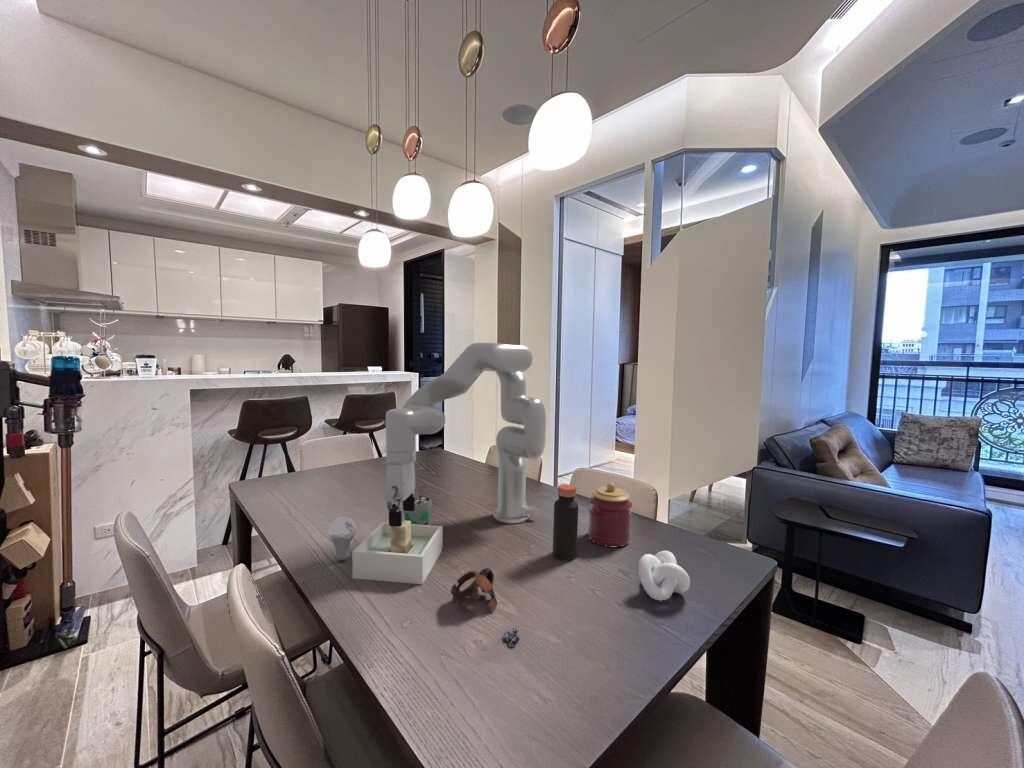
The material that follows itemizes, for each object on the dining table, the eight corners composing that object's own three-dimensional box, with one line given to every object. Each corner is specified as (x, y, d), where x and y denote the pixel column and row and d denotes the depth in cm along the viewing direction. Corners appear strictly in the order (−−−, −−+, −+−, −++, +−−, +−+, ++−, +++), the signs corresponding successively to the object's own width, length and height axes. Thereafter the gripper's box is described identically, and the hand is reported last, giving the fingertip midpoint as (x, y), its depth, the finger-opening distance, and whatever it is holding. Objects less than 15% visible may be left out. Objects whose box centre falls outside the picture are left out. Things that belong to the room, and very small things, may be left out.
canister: (638, 538, 130) (640, 483, 129) (617, 552, 121) (620, 493, 119) (601, 526, 139) (603, 474, 138) (579, 538, 130) (581, 482, 128)
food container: (422, 540, 126) (422, 508, 125) (403, 538, 127) (403, 506, 126) (437, 524, 138) (437, 494, 137) (420, 522, 139) (420, 493, 138)
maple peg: (410, 556, 114) (411, 520, 113) (405, 563, 110) (405, 527, 109) (396, 555, 115) (396, 519, 114) (391, 562, 111) (391, 526, 110)
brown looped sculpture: (490, 624, 89) (471, 593, 88) (457, 629, 93) (439, 599, 92) (511, 583, 99) (493, 554, 98) (480, 589, 104) (464, 562, 103)
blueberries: (528, 630, 88) (529, 621, 88) (532, 655, 80) (532, 645, 80) (496, 630, 88) (497, 621, 88) (497, 655, 80) (497, 645, 80)
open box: (442, 549, 120) (442, 526, 120) (422, 584, 103) (422, 556, 102) (382, 545, 122) (382, 521, 122) (352, 578, 104) (352, 551, 104)
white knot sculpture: (629, 577, 108) (631, 543, 107) (676, 578, 108) (678, 545, 107) (641, 603, 97) (643, 566, 96) (693, 605, 97) (696, 568, 96)
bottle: (562, 547, 123) (564, 481, 122) (581, 555, 119) (583, 487, 117) (547, 554, 119) (549, 486, 117) (566, 564, 114) (569, 492, 112)
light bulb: (361, 556, 115) (361, 514, 114) (343, 569, 109) (343, 524, 108) (341, 552, 117) (340, 510, 116) (322, 564, 111) (321, 520, 110)
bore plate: (438, 547, 119) (438, 537, 119) (420, 577, 104) (420, 566, 103) (384, 543, 121) (384, 533, 121) (358, 572, 105) (358, 561, 105)
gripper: (399, 446, 119) (400, 504, 121) (373, 464, 102) (375, 531, 104) (425, 447, 118) (426, 506, 120) (402, 465, 101) (404, 533, 103)
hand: (402, 517), depth 112 cm, fingers open, 9 cm apart
